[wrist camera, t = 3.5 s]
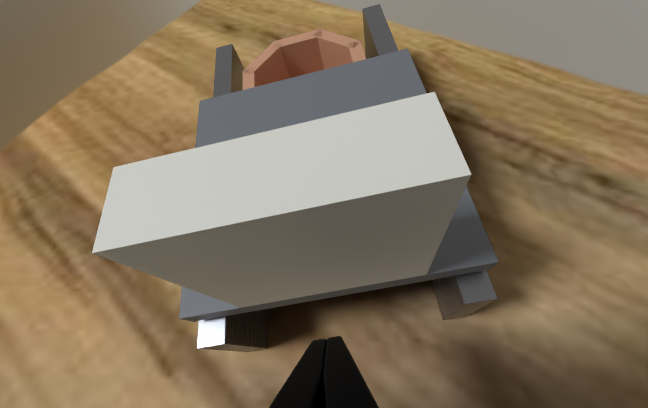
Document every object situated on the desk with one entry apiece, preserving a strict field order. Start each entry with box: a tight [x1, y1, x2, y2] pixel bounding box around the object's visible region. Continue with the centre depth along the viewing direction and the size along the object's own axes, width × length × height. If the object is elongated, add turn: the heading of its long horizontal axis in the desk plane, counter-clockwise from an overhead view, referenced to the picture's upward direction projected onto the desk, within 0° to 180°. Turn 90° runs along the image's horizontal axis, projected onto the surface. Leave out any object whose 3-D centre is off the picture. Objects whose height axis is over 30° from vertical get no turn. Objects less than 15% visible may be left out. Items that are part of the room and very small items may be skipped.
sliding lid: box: [92, 49, 499, 322], centre depth 12 cm, size 12×12×8 cm
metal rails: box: [197, 4, 498, 352], centre depth 19 cm, size 20×12×5 cm, turn 8°
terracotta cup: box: [242, 29, 366, 90], centre depth 21 cm, size 8×8×5 cm
